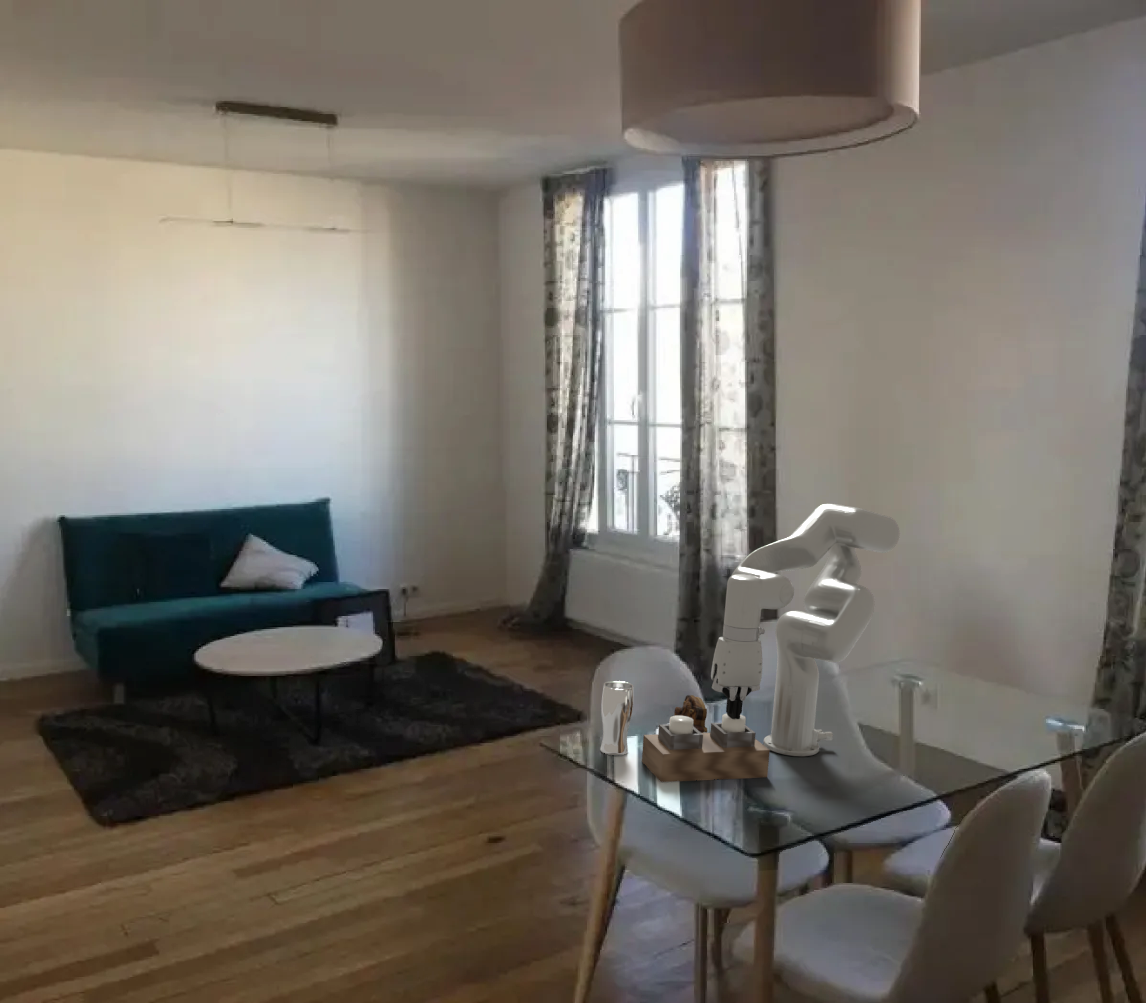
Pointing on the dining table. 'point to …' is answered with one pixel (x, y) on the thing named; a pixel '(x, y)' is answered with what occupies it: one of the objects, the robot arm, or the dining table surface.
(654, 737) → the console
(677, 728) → the knob
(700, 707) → the wooden carving
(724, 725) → the knob
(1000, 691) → the dining table surface
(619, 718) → the beer glass
